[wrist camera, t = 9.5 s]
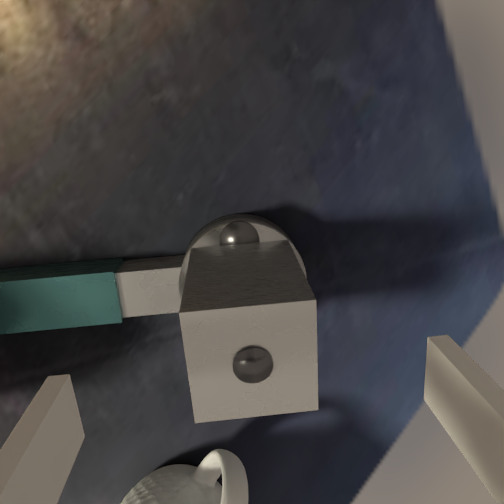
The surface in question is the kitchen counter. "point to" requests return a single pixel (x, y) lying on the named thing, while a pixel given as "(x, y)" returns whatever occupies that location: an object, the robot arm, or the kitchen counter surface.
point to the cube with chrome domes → (249, 332)
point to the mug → (194, 483)
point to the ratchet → (115, 282)
